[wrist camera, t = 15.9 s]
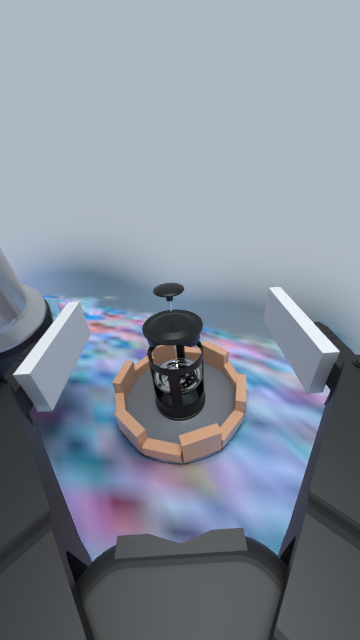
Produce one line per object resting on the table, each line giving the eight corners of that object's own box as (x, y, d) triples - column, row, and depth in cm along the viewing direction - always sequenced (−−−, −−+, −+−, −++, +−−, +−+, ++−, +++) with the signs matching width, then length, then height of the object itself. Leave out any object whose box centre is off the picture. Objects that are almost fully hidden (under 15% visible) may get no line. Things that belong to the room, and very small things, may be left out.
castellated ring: (94, 446, 37) (84, 427, 34) (145, 352, 56) (141, 334, 53) (243, 479, 32) (246, 460, 29) (243, 362, 51) (245, 343, 48)
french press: (206, 425, 38) (204, 305, 25) (151, 424, 39) (123, 308, 26) (204, 373, 48) (202, 268, 35) (160, 373, 49) (143, 271, 36)
